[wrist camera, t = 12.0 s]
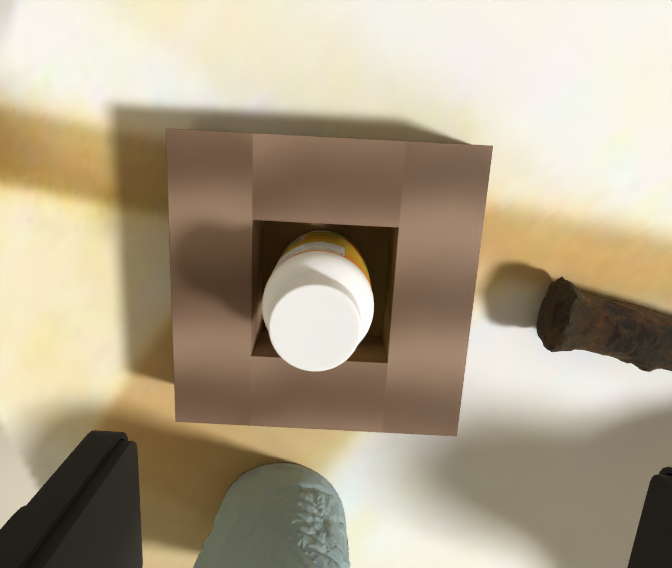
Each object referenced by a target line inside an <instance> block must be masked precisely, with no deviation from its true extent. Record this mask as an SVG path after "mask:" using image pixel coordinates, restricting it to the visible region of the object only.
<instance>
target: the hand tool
mask: <svg viewBox="0 0 672 568" xmlns="http://www.w3.org/2000/svg"><path fill="white" fill-rule="evenodd" d="M537 334H538V336H539V338H540V339H541V340H542V342H543V345H544V347H545V348H546V349H547V350H550V351H551V352H558V351H572V350H574V349H577V350H586V351H590V352H594V353H598V354H601V355H607V356H611V357H614V358H617V359H619V360H620V361H623V362H625V363H632V364H634V365H635V366H637V367H638V368H639V369H641V370H643V371H648V372H650V371H652V370H655V369H660V368H661V369H666V370H670V371H672V317H670V316H667V315H662V314H659V313H658V312H656V311H651V310H648V309H646V308H643V307H640V306H637V305H633V304H629V303H623V302H619V301H616V300H607V299H604V298H600V297H597V296H593V295H590V294H587V293H584V292H580V291H579V290H578V289H577V288H576V286H575V285H574V284H572V283H571V282H569V281H568V280H565V279H564V278H563V277H560V278H559V279H557V280H556V281H555V282H553V283H551V285H550V286H549V290H548V292H547V295H546V297H545V298H544V300H543V302H542V305H541V308H540V311H539V315H538V321H537Z"/></svg>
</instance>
